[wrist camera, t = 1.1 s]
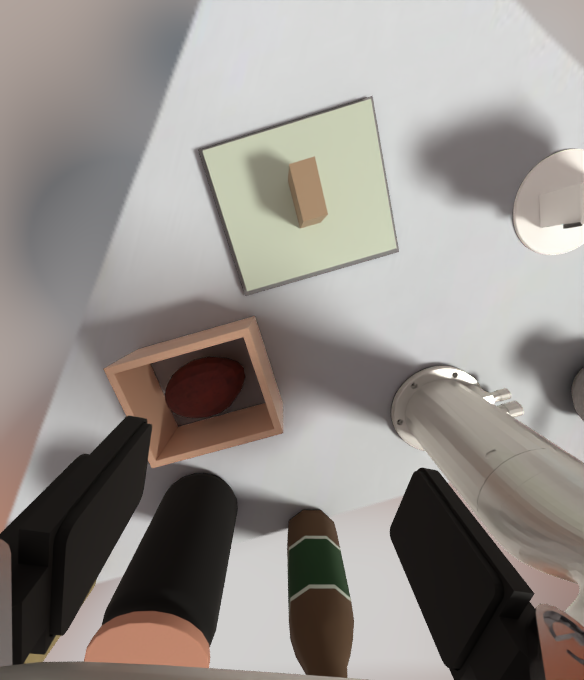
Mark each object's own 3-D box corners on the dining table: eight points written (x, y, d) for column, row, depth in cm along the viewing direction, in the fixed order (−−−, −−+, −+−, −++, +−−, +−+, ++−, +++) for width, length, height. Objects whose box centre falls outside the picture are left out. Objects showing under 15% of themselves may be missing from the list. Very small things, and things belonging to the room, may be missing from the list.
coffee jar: (176, 532, 43) (105, 713, 26) (157, 475, 40) (64, 633, 23) (245, 522, 43) (220, 695, 26) (230, 464, 40) (192, 613, 23)
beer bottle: (341, 538, 45) (406, 833, 21) (295, 552, 45) (310, 857, 22) (326, 500, 43) (381, 781, 19) (278, 515, 43) (275, 808, 20)
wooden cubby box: (254, 315, 35) (248, 327, 28) (282, 403, 38) (283, 433, 31) (137, 349, 35) (103, 368, 29) (174, 433, 39) (152, 468, 32)
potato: (164, 369, 36) (142, 389, 30) (233, 336, 36) (224, 350, 30) (193, 414, 38) (177, 442, 32) (259, 384, 37) (255, 406, 31)
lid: (368, 103, 29) (389, 64, 24) (394, 248, 33) (417, 244, 27) (204, 153, 30) (186, 127, 24) (247, 290, 34) (241, 295, 28)
